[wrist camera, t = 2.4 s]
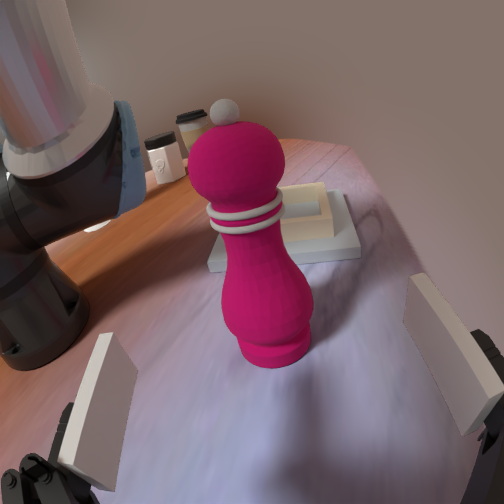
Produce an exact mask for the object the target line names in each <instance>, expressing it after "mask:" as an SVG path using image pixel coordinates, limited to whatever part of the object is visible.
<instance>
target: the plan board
mask: <svg viewBox="0 0 504 504" xmlns="http://www.w3.org/2000/svg"><path fill="white" fill-rule="evenodd" d="M277 188H279V189H280V190H281V191H282V193H283V199H282V202H283V204H284V206H285V212H284V214H283V216H282V217H281V218H280V225H281V234H282V238H283V242H284V246H285V248H286V250H287V252H288V254H289V256H290V257H291V259H292V260H293V261H294V263H295V264H296V265H298V264H308V263H318V262H327V261H337V260H346V259H356V258H361V245H360V242H359V239H358V236H357V233H356V230H355V227H354V224H353V222H352V219H351V216H350V213H349V210H348V207H347V205H346V202H345V199H344V197H343V194H342V191H341V189H332V190H325V186H324V182H317V183H309V184H300V185H292V186H284V187H277ZM207 264H208V267H209V270H210V273H214V272H225V271H226V269H227V253H226V248H225V244H224V241H223V238H222V236H221V233H220V232H219V235H218V237H217V239H216V242H215V244H214V247H213V249H212V252H211V254H210V257H209V259H208V261H207Z"/></svg>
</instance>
